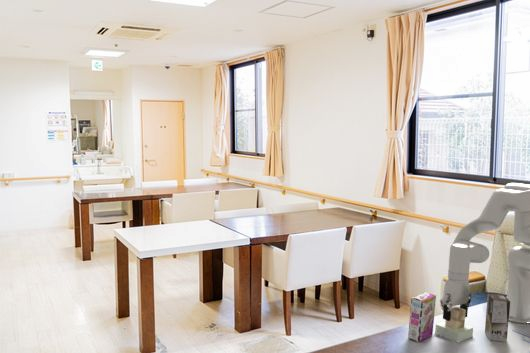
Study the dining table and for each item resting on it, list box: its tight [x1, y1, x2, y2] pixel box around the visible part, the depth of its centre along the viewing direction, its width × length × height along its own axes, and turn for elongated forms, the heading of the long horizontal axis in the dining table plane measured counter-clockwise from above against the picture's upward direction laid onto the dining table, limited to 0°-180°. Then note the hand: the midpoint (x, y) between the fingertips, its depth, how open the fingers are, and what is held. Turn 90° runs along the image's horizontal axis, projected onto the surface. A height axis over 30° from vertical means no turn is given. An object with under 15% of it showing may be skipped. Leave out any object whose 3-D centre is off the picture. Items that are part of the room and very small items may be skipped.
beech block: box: [444, 305, 466, 329], centre depth 196 cm, size 5×5×7 cm
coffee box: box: [484, 293, 510, 343], centre depth 195 cm, size 9×6×16 cm
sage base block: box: [434, 320, 474, 343], centre depth 196 cm, size 10×10×4 cm
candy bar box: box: [407, 291, 437, 343], centre depth 192 cm, size 11×5×16 cm, turn 134°
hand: (455, 318), depth 196 cm, fingers open, 9 cm apart
